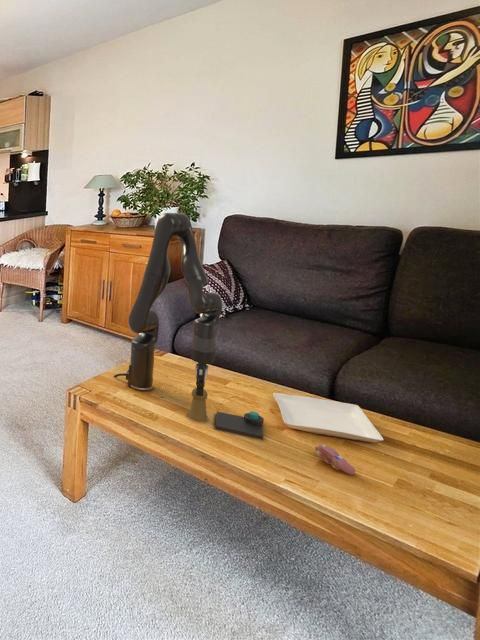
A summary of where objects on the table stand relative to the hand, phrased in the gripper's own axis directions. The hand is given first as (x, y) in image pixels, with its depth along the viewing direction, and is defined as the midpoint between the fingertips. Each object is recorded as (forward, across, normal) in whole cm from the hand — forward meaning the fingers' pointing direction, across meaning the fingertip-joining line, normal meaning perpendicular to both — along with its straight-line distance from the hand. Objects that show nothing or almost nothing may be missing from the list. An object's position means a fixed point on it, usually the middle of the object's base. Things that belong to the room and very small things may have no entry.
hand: (200, 390), depth 171 cm
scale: (+11, 0, +13) cm, 17 cm away
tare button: (+8, -4, +17) cm, 19 cm away
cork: (+11, 0, 0) cm, 11 cm away
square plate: (+11, -18, +39) cm, 44 cm away
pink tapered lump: (+11, +13, +38) cm, 41 cm away
